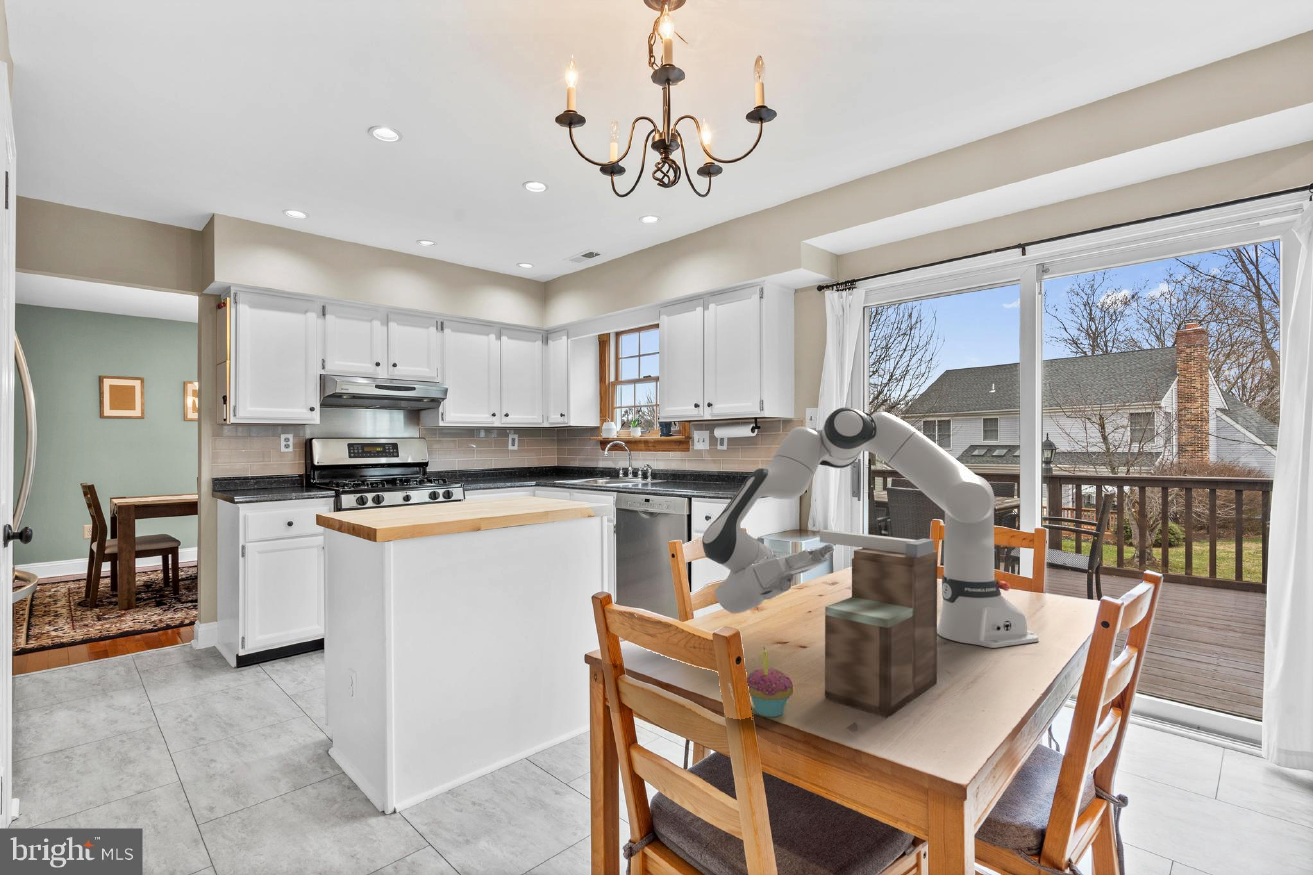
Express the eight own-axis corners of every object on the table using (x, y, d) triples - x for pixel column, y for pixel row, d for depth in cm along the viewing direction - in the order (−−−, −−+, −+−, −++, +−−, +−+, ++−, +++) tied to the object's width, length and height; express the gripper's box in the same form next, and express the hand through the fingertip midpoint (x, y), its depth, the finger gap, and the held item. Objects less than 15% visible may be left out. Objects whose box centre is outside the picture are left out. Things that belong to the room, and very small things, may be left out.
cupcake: (782, 725, 111) (782, 654, 111) (736, 714, 115) (736, 645, 115) (800, 707, 118) (800, 640, 118) (756, 697, 123) (756, 633, 122)
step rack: (824, 698, 122) (825, 558, 122) (878, 668, 138) (878, 543, 138) (887, 717, 114) (887, 567, 114) (936, 683, 130) (937, 551, 130)
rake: (812, 543, 138) (812, 532, 138) (831, 539, 144) (831, 528, 144) (917, 557, 123) (917, 544, 123) (934, 551, 129) (934, 539, 129)
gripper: (803, 580, 155) (850, 557, 147) (753, 596, 141) (802, 571, 132) (791, 556, 158) (837, 531, 150) (740, 568, 143) (788, 542, 135)
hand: (820, 550), depth 141 cm, fingers open, 8 cm apart
